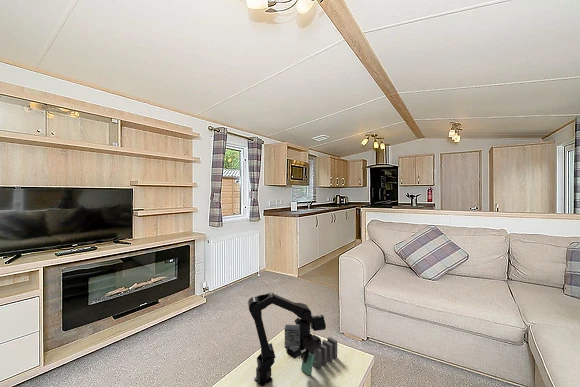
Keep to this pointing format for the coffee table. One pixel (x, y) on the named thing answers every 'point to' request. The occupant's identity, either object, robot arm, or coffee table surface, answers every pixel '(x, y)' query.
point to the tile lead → (308, 364)
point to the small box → (291, 335)
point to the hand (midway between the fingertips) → (304, 362)
